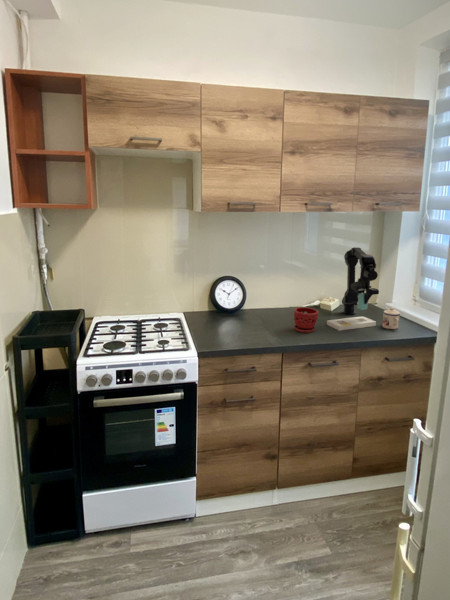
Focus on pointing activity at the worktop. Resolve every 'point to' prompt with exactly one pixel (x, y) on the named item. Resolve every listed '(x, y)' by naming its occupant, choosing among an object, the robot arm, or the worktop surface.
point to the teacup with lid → (390, 319)
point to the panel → (351, 323)
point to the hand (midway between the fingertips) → (362, 303)
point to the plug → (362, 302)
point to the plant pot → (305, 319)
